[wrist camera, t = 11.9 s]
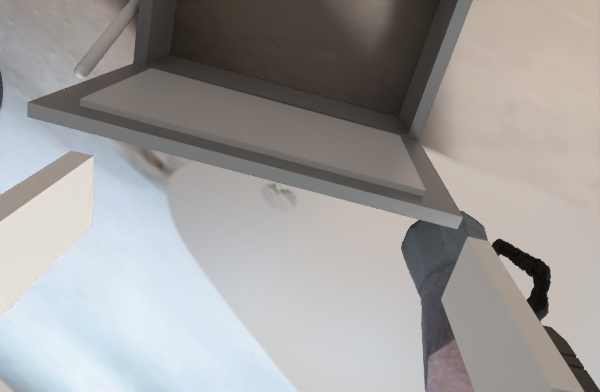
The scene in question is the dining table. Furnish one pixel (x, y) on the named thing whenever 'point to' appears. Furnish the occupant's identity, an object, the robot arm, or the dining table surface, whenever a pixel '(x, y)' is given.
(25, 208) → the robot arm
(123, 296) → the dining table surface
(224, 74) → the case
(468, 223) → the moka pot
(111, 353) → the dining table surface
